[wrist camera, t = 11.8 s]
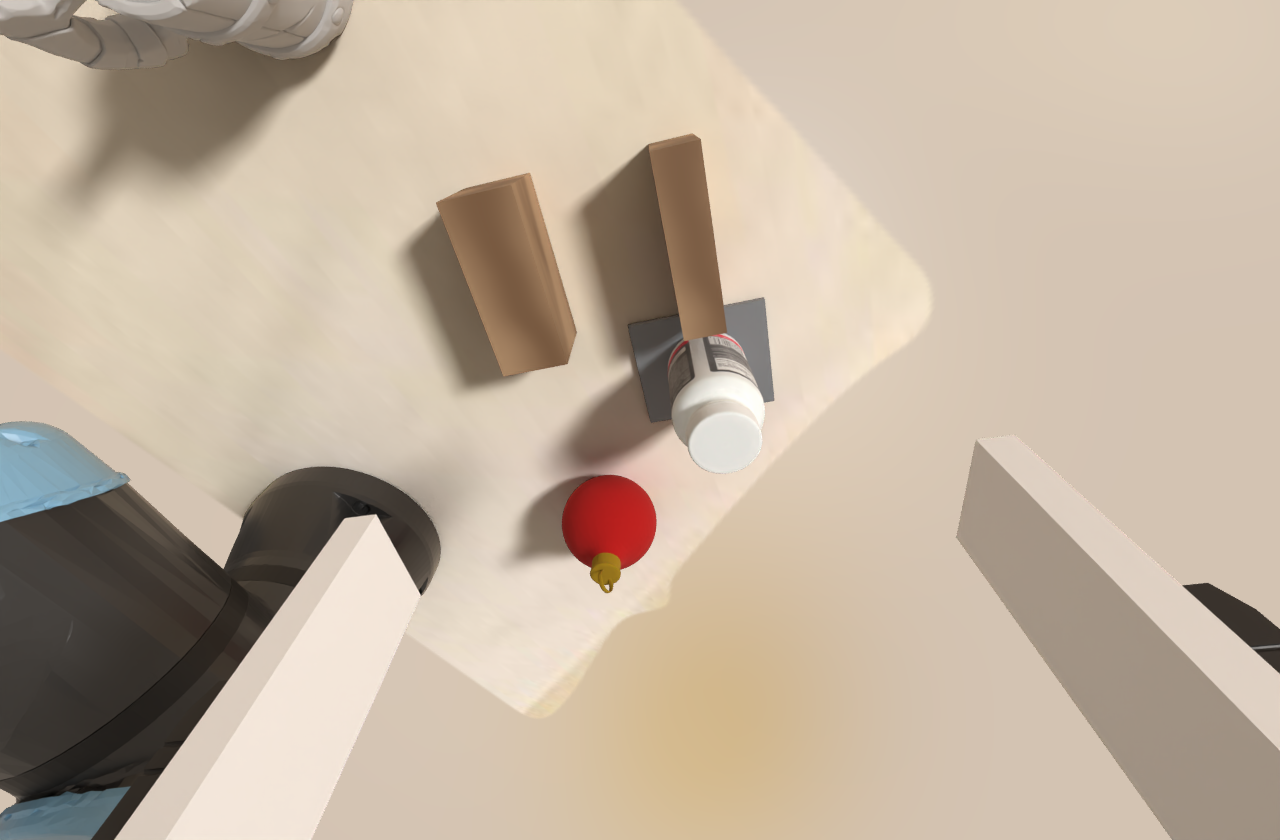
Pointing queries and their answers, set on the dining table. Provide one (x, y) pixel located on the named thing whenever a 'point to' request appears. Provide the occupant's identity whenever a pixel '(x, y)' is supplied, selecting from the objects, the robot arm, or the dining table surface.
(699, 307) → the block
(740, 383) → the pill bottle
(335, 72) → the dining table surface
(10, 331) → the dining table surface
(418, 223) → the dining table surface
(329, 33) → the mug
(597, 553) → the christmas ornament
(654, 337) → the pad
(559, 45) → the dining table surface
